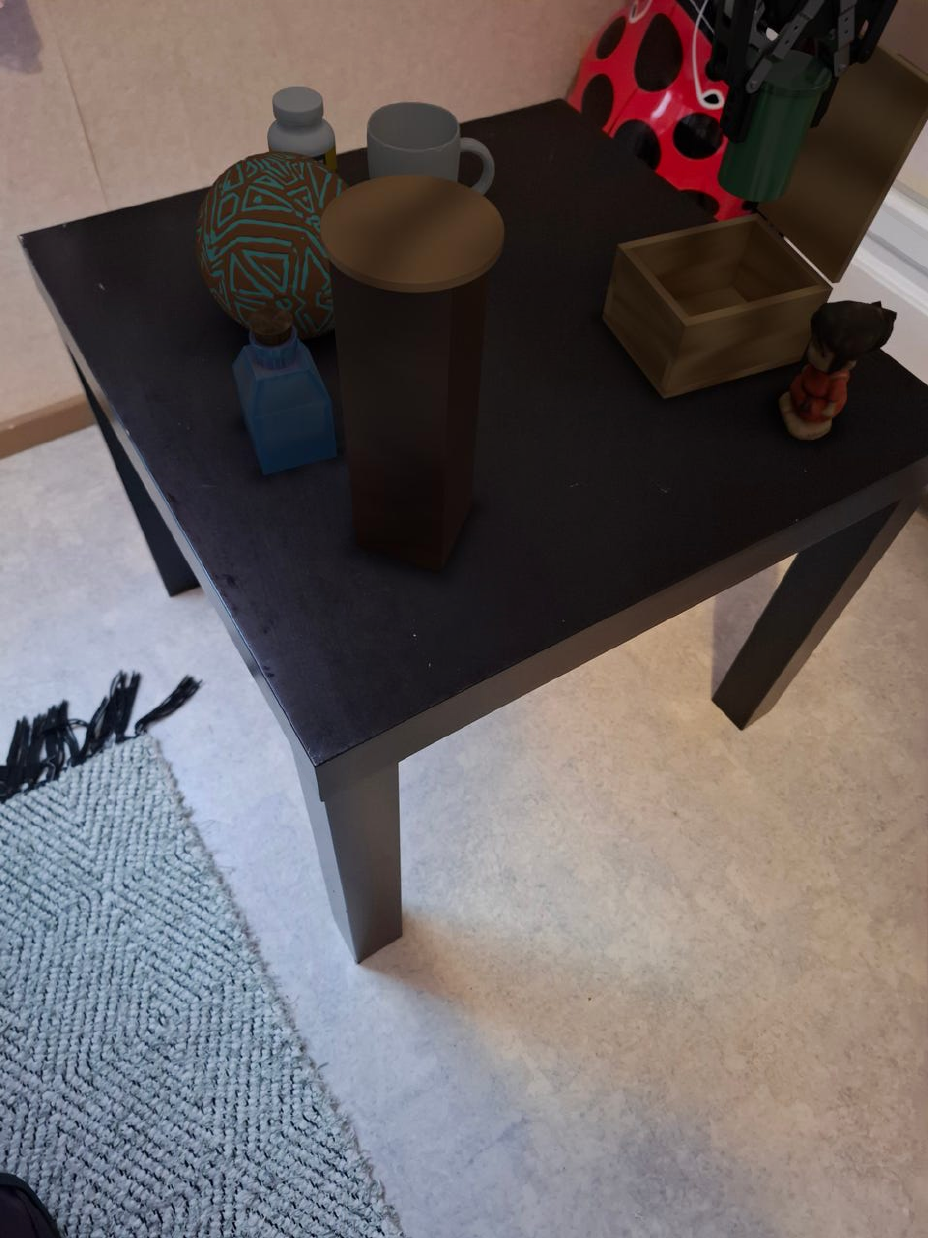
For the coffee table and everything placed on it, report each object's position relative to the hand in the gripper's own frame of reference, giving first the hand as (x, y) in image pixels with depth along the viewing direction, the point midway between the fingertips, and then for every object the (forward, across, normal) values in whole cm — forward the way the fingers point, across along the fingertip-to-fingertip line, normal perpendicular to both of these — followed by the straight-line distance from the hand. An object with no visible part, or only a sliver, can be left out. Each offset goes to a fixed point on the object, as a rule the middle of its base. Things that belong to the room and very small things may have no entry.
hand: (768, 129), depth 67 cm
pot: (+4, 0, 0) cm, 4 cm away
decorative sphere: (+20, +35, -15) cm, 43 cm away
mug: (+20, +17, -26) cm, 37 cm away
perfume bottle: (+20, +40, -1) cm, 44 cm away
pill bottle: (+20, +28, -31) cm, 47 cm away
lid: (+3, -8, 0) cm, 8 cm away
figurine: (+20, -3, +12) cm, 23 cm away
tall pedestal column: (+20, +33, +12) cm, 40 cm away
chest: (+20, 0, 0) cm, 20 cm away
